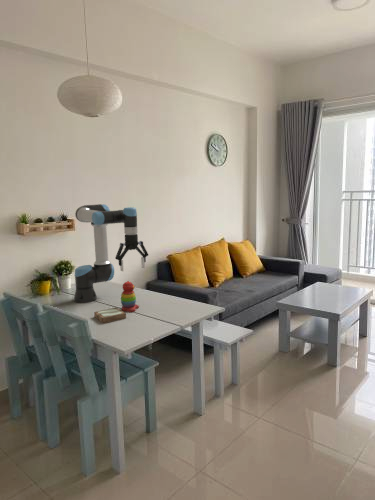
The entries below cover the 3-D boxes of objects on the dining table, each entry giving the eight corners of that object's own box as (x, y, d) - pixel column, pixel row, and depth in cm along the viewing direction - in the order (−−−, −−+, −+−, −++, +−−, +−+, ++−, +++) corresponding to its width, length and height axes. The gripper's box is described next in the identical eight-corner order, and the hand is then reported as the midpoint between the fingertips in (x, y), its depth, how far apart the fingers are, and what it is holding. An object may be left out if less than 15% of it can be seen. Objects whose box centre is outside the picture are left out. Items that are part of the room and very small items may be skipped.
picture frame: (94, 316, 230) (94, 311, 229) (116, 312, 237) (116, 307, 237) (103, 323, 218) (103, 318, 218) (126, 318, 226) (125, 313, 225)
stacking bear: (134, 312, 236) (132, 284, 233) (118, 311, 238) (117, 283, 235) (139, 306, 247) (138, 280, 244) (124, 306, 249) (123, 279, 246)
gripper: (113, 236, 215) (115, 273, 218) (153, 232, 227) (154, 267, 231) (108, 235, 221) (110, 271, 225) (147, 231, 234) (148, 265, 237)
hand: (132, 269), depth 228 cm, fingers open, 13 cm apart
